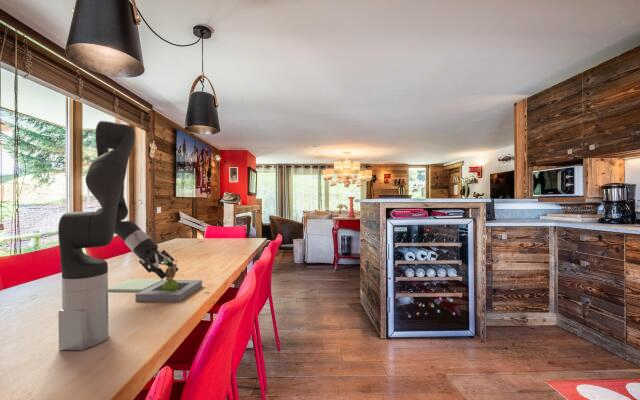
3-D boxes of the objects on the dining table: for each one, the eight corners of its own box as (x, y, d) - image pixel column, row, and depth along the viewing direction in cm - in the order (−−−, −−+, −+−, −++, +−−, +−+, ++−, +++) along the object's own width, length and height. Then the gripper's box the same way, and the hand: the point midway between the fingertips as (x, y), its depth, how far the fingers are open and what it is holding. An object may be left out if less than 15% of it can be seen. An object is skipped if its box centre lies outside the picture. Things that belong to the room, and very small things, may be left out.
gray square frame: (179, 301, 104) (179, 294, 104) (135, 301, 105) (135, 294, 105) (202, 286, 122) (202, 280, 122) (164, 285, 123) (164, 279, 123)
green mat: (142, 291, 115) (142, 289, 115) (107, 291, 116) (107, 289, 116) (163, 281, 129) (163, 279, 129) (132, 281, 130) (131, 279, 130)
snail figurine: (182, 290, 116) (182, 260, 116) (172, 296, 110) (172, 264, 110) (169, 290, 117) (169, 260, 117) (159, 295, 111) (158, 263, 110)
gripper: (135, 240, 107) (167, 272, 106) (158, 235, 121) (186, 263, 120) (121, 254, 107) (153, 286, 107) (146, 248, 121) (174, 276, 121)
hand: (170, 274), depth 113 cm, fingers open, 8 cm apart
